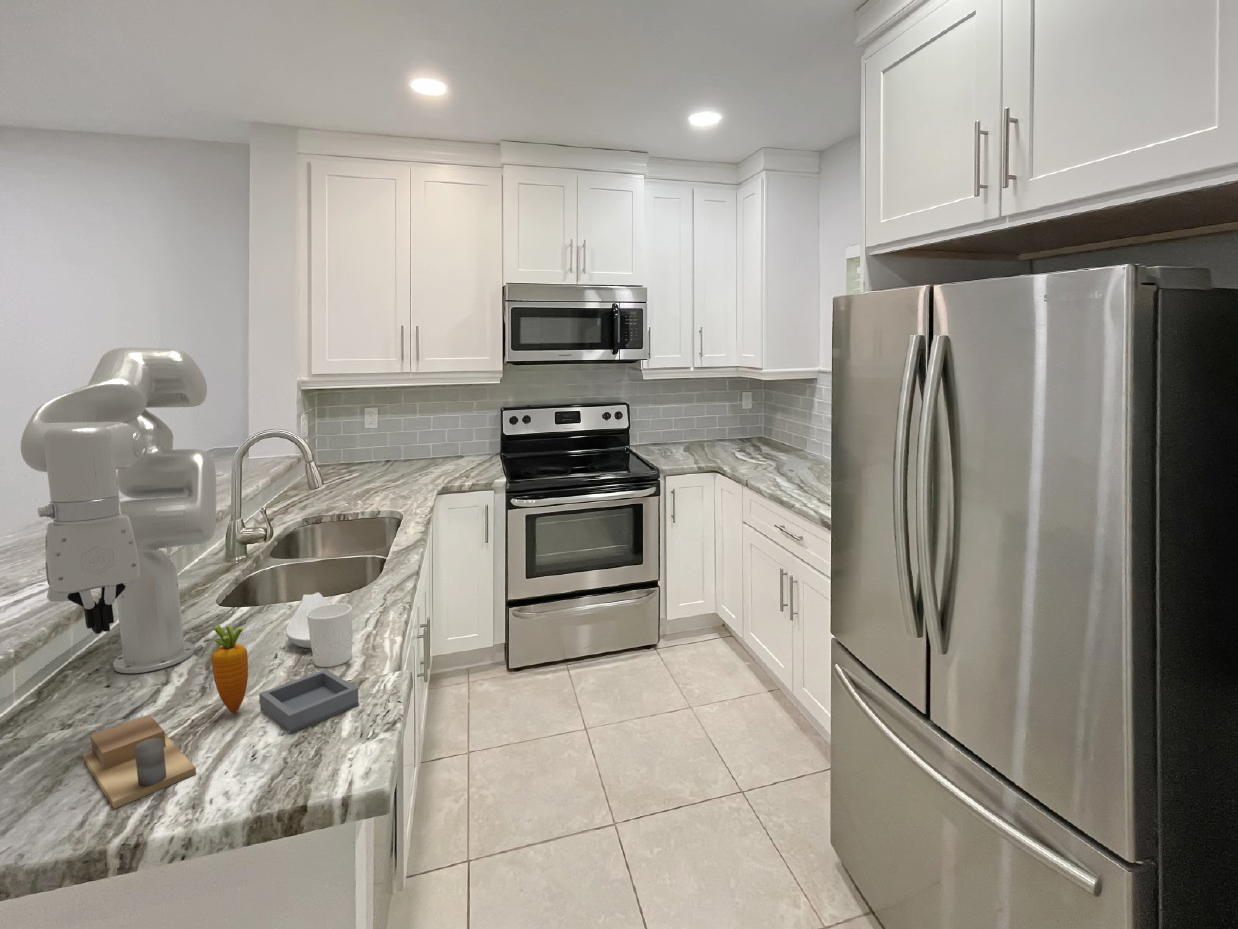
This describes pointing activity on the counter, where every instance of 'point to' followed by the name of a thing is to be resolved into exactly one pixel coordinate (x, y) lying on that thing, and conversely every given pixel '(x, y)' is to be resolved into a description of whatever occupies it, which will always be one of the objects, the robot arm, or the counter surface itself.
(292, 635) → the spoon rest
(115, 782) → the board
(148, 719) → the wooden rectangular block
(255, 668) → the counter surface
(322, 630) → the white cup
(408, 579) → the counter surface
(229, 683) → the carrot
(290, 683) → the tray
